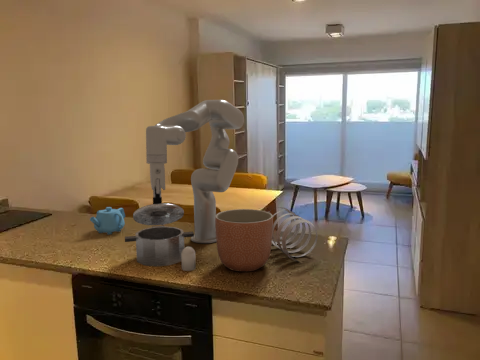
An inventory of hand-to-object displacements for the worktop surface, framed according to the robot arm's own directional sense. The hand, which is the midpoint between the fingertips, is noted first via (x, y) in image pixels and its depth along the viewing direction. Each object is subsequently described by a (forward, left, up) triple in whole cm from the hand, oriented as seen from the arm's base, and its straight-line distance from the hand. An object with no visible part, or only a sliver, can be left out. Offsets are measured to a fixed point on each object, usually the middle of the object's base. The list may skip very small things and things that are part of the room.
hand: (157, 207), depth 160 cm
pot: (-1, -1, -20) cm, 20 cm away
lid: (-1, -3, -4) cm, 5 cm away
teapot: (+20, -44, -21) cm, 53 cm away
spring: (-52, +3, -21) cm, 56 cm away
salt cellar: (-10, +13, -20) cm, 26 cm away
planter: (-30, +16, -21) cm, 39 cm away
